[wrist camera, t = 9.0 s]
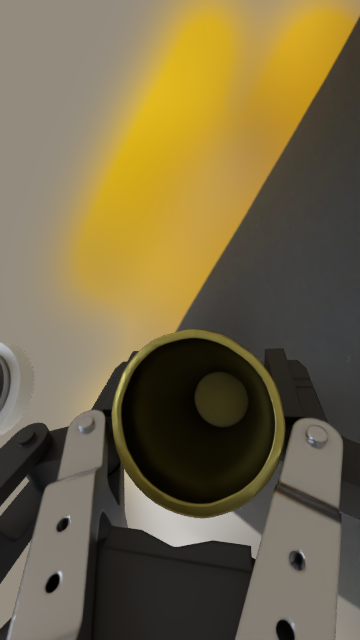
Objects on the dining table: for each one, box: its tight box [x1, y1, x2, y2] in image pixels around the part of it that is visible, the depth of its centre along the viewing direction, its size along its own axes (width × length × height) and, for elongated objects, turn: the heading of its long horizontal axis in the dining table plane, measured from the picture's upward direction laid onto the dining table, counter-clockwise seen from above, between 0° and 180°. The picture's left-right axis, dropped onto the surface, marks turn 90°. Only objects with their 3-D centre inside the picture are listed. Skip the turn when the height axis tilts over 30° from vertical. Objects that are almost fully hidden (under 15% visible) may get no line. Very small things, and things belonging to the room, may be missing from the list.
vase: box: [112, 329, 285, 518], centre depth 14 cm, size 6×6×14 cm
